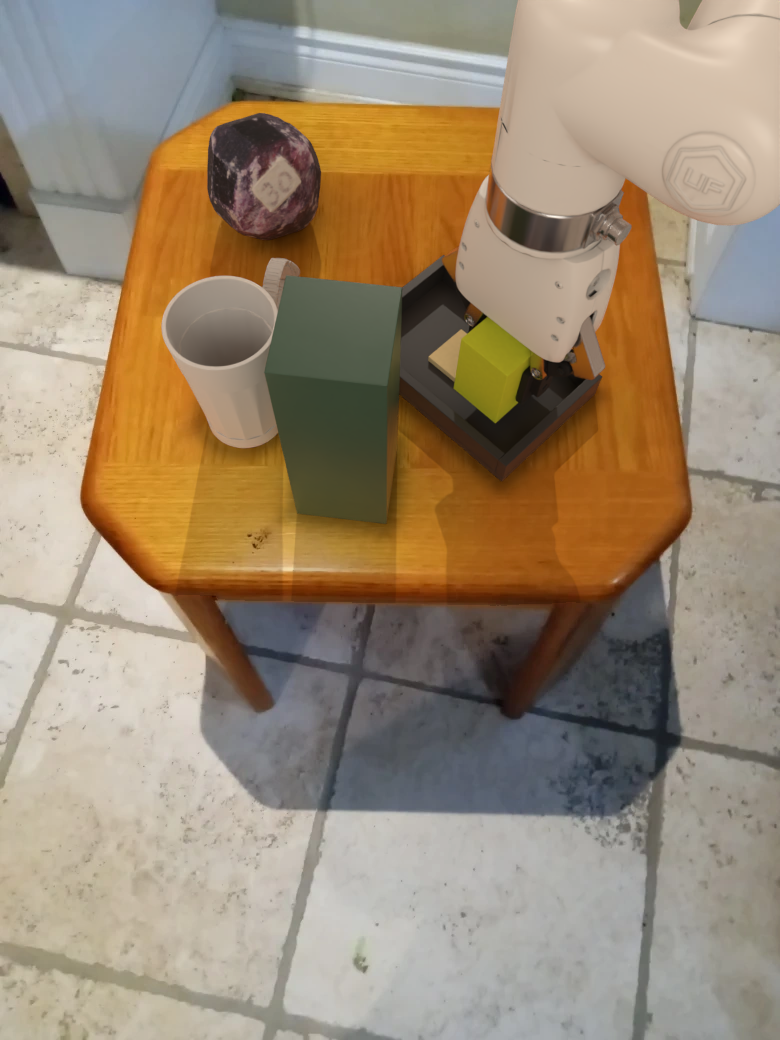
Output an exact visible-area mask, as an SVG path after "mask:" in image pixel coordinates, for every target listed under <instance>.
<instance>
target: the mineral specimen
mask: <svg viewBox="0 0 780 1040" xmlns="http://www.w3.org/2000/svg"><path fill="white" fill-rule="evenodd" d="M207 147H208V148H207V165H206V167H207V170H206V173H207V179H206V181H207V182H206V183H207V184H206V189H207V194H208V198H209V202H210V204H211V206H212V208H213V210H214V212H215V213H216V214H217V215H218V216H219V217H220V218H221V219H222V220H223V221H224V222H225V223H227V225H228V226H229V227H231V228H232V229H233V230H234V231H236V232H237V233H239V234H240V235H243V236H245V237H250V238H254V239H257V240H262V241H271V240H274V239H278V238H281V237H285V236H288V235H291V234H294V233H297V232H300V231H302V230H303V229H304V230H305V228H306V227H307V226H309V224H310V223H311V222H312V221H313V220H314V218H315V217H316V213H317V210H318V208H319V199H320V192H321V181H322V171H321V170H322V169H321V165H320V161H319V157H318V155H317V152H316V150H315V148H314V145H313V144H312V142H311V141H310V140H309V138H308V137H306V135H305V134H303V133H302V132H301V131H300V130H299V129H298V128H297V127H295V126H294V125H293V124H292V123H290V122H287V121H285V120H283V118H280V117H279V116H276V115H273V114H270V113H266V112H257V113H253V114H250V115H248V116H245V117H241V118H237V119H233V120H231V121H228V122H224V123H222V124H219V125H216V127H214V129H212V132H211V133H210V136H209V140H208V146H207Z"/></svg>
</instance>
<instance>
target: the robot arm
mask: <svg viewBox="0 0 780 1040" xmlns="http://www.w3.org/2000/svg"><path fill="white" fill-rule="evenodd" d="M680 8H681V7H680V0H517V2H516V7H515V10H514V11H515V12H514V17H513V22H512V29H511V36H510V42H509V49H508V53H507V60H506V67H505V72H504V79H503V86H502V91H501V98H500V104H499V111H498V117H497V123H496V130H495V135H494V136H495V137H494V143H493V150H492V154H491V159H490V166H489V172H488V175H487V176H486V177H485V178H484V179H483V181H482V182H481V184H480V186H479V189H478V191H477V192H476V195H475V197H474V199H473V202H472V204H471V206H470V208H469V211H468V214H467V217H466V220H465V222H464V226H463V230H462V233H461V237H460V242H459V246H457V247H455V248H453V249H452V250H450V251H449V252H448V253H447V254H445V256H444V257H443V258H442V263H443V265H444V267H445V268H446V270H447V271H448V273H449V275H450V276H451V278H452V279H453V281H454V282H456V284H457V285H456V290H457V293H458V294H459V296H460V298H461V300H462V302H463V304H464V306H465V308H466V311H465V313H464V320H465V321H466V323H467V324H468V325H469V332H470V331H471V330H472V329H474V328H475V327H476V326H477V325H478V324H480V323H481V322H482V321H483V320H484V319H485V318H487V317H489V318H490V319H491V320H493V321H494V322H495V323H496V324H498V325H499V326H500V327H501V328H503V329H504V330H505V331H506V332H508V333H509V334H510V335H512V336H513V337H514V338H515V339H517V340H518V341H519V342H521V343H522V344H523V345H524V346H526V347H527V348H528V349H530V366H529V367H528V368H527V369H525V371H524V372H523V374H522V377H521V380H520V384H519V387H518V391H517V394H516V401H517V402H518V403H519V404H521V405H522V404H523V403H524V402H525V401H527V400H528V399H529V398H530V397H531V396H532V395H534V396H536V397H537V398H538V397H539V396H541V395H542V394H543V393H544V392H545V391H546V390H547V389H548V387H549V386H550V384H551V381H552V378H553V376H555V377H567V376H568V375H569V374H571V375H574V377H578V378H583V379H588V380H593V379H594V378H595V377H596V376H598V375H599V374H600V375H601V374H602V372H603V371H605V369H606V363H605V360H604V356H603V353H602V350H601V346H600V344H599V339H598V337H597V333H596V332H597V331H598V329H599V328H600V327H601V325H602V323H603V320H604V318H605V315H606V311H607V308H608V305H609V302H610V299H611V295H612V292H613V287H614V284H615V280H616V276H617V271H618V264H619V258H620V251H621V250H620V249H621V244H622V243H623V242H624V241H625V240H626V238H627V237H628V235H629V234H630V232H631V231H632V224H631V223H629V222H628V221H627V220H625V219H623V218H624V216H623V214H621V213H620V205H621V202H622V199H623V197H624V194H625V192H624V191H623V190H622V189H623V187H624V184H625V181H626V180H628V182H630V183H632V184H633V185H634V186H636V187H638V188H639V189H640V190H642V191H644V192H645V193H647V194H648V195H650V196H651V197H652V198H653V199H655V200H657V201H658V202H660V203H661V204H663V205H664V206H666V207H668V208H670V209H671V210H673V211H675V212H677V213H679V214H680V215H683V216H685V217H687V218H690V219H692V220H695V221H697V222H702V223H705V224H710V225H714V226H715V225H716V226H726V227H727V226H729V227H730V226H738V225H744V224H749V223H750V222H751V223H752V222H754V221H757V220H759V219H761V218H763V217H765V216H767V215H768V214H770V213H771V212H773V211H774V210H775V209H777V208H778V207H779V206H780V0H701V1H700V3H699V5H698V7H697V9H696V11H695V12H694V14H693V16H692V18H691V20H690V22H689V24H688V26H687V28H685V27H684V26H683V25H682V23H681V19H680V17H681V10H680ZM469 332H468V333H469Z"/></svg>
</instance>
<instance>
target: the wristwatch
mask: <svg viewBox="0 0 780 1040" xmlns="http://www.w3.org/2000/svg"><path fill="white" fill-rule="evenodd" d="M286 275H289V276H298V277H300V275H301V269H300V268H299V266H298V265H297V263H295V262H293V261H292V260H290V259H288V258H285V257H284V258H283V257H271V258H270V260H269V261H268V263H267V265H266V269H265V272H264V277H263V282H262V286H261V287H262V288H263V289H265V290H266V291H267V292H268V293H269V295H270V296H271V297H272V299H273V300H274V302H275V304H276V307H277V310H278V308H279V304H280V300H281V295H282V291H283V286H284V282H285V277H286Z"/></svg>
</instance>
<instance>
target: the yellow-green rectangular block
mask: <svg viewBox="0 0 780 1040" xmlns="http://www.w3.org/2000/svg"><path fill="white" fill-rule="evenodd" d="M529 366H530V349H528V348H527V347H526V346H524V345H523V344H522V343H521V342H519V341H518V340H517V339H515V338H514V337H513V336H512V335H510V334H509V333H508V332H506V331H505V330H504V329H503V328H501V327H500V326H499V325H498V324H496V323H495V322H494V321H493V320H491V319H490V318H489V317H487V318H485V319H484V320H483V321H482V322H481V323H480V324H478V325H477V326H476V327H475V328H474V329H472V330H471V331H470V332H469V333H468V334H466V335H465V336H464V337H463V338H462V339H461V344H460V350H459V357H458V363H457V370H456V376H455V382H454V389H455V390H456V391H457V392H458V393H460V394H461V395H462V396H463V397H464V398H466V399H467V400H468V401H469V402H470V403H472V404H473V405H474V406H475V407H476V408H477V409H479V410H480V411H481V412H482V413H483V414H485V415H486V416H487V417H488V418H489V419H491V420H492V421H493V422H494V423H496V422H497V421H499V420H500V419H501V418H502V417H503V416H504V415H505V414H506V413H507V412H509V411H510V410H511V409H512V408H513V407H514V406H515V405H516V404H517V403H518V402H517V401H516V394H517V391H518V387H519V384H520V380H521V377H522V374H523V372H524V371H525V369H527V368H528V367H529Z"/></svg>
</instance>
